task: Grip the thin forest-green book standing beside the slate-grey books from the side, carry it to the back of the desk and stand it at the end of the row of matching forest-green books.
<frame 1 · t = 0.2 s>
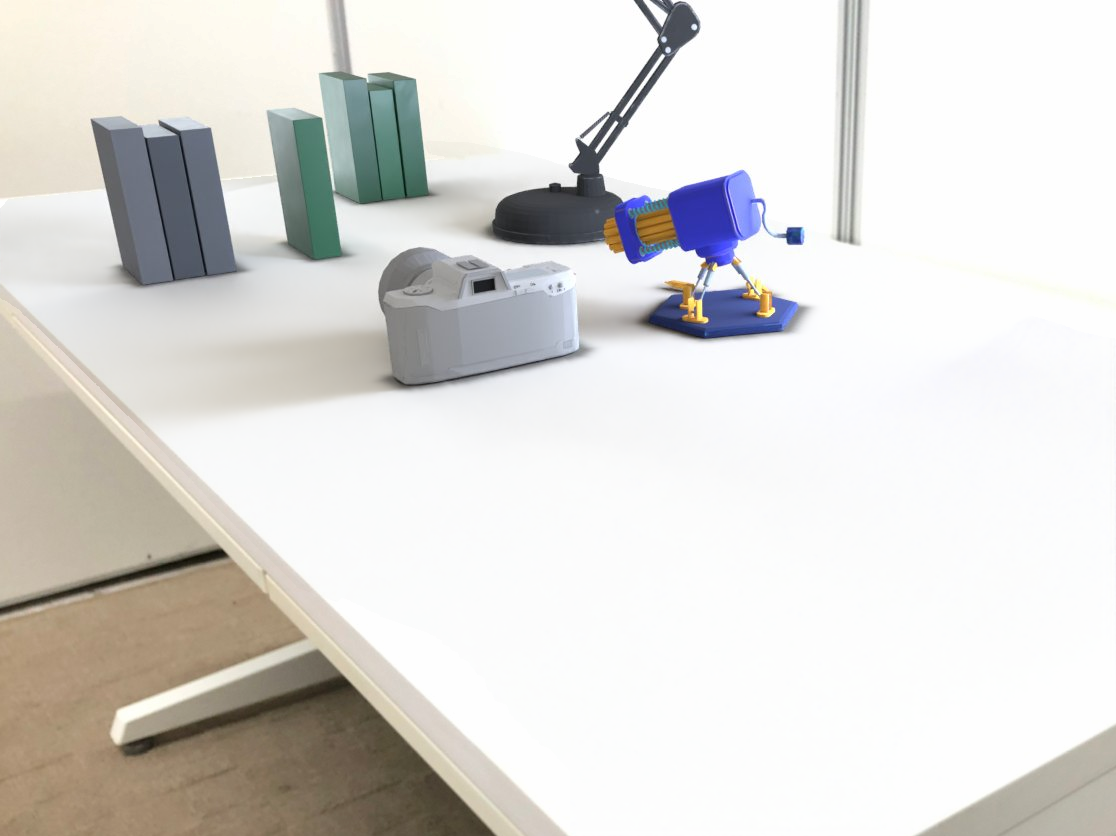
desk lamp: (554, 230, 149), on the table
green books: (381, 193, 167), on the table
green book: (314, 249, 140), on the table
grey books: (179, 268, 133), on the table
digital camera: (476, 352, 109), on the table
toy gatling gun: (715, 310, 119), on the table
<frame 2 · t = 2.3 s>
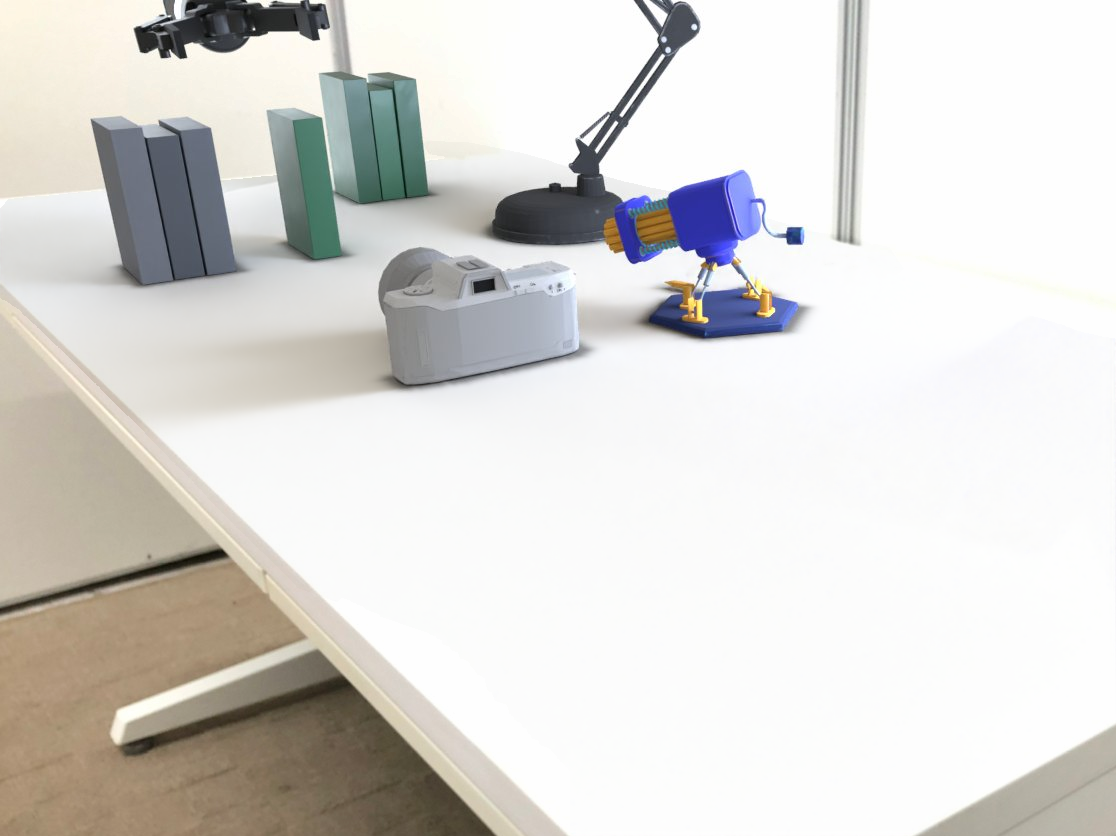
hand: (248, 35, 136), 21 cm above the table, tool horizontal, fingers open, 13 cm apart
nothing on the table moved.
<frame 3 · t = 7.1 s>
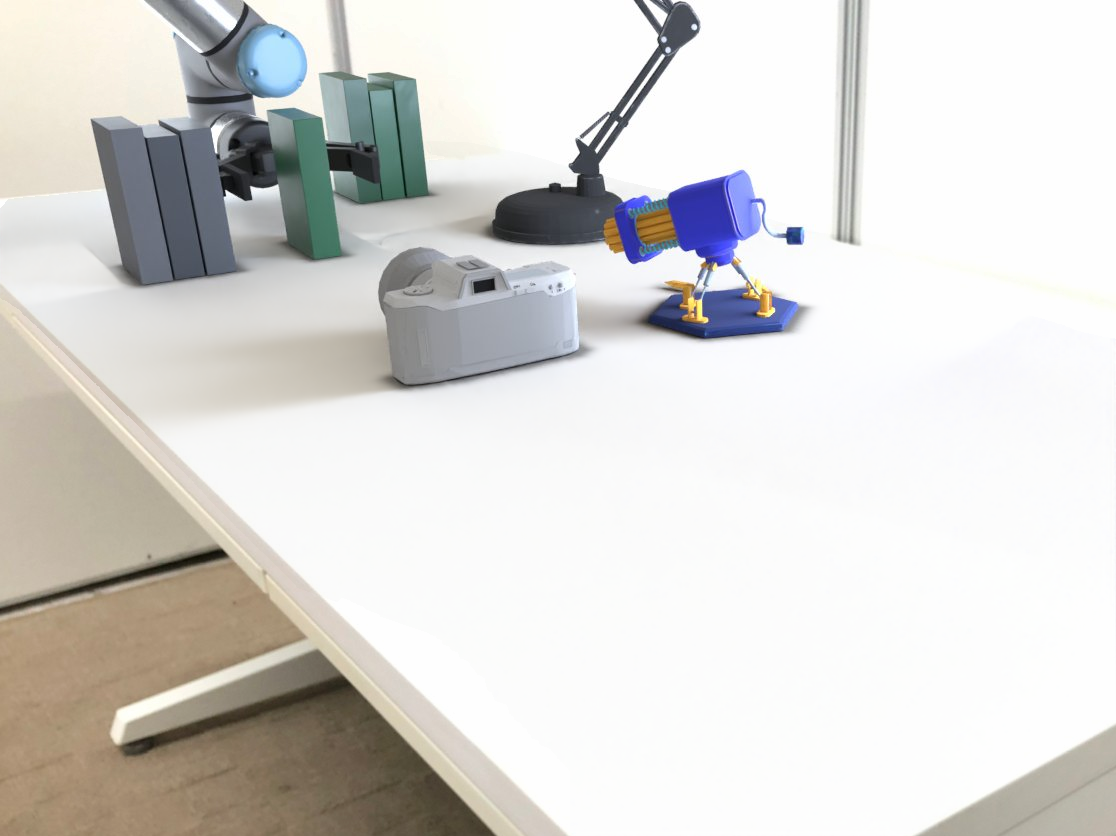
hand: (313, 178, 135), 8 cm above the table, tool horizontal, fingers open, 13 cm apart
nothing on the table moved.
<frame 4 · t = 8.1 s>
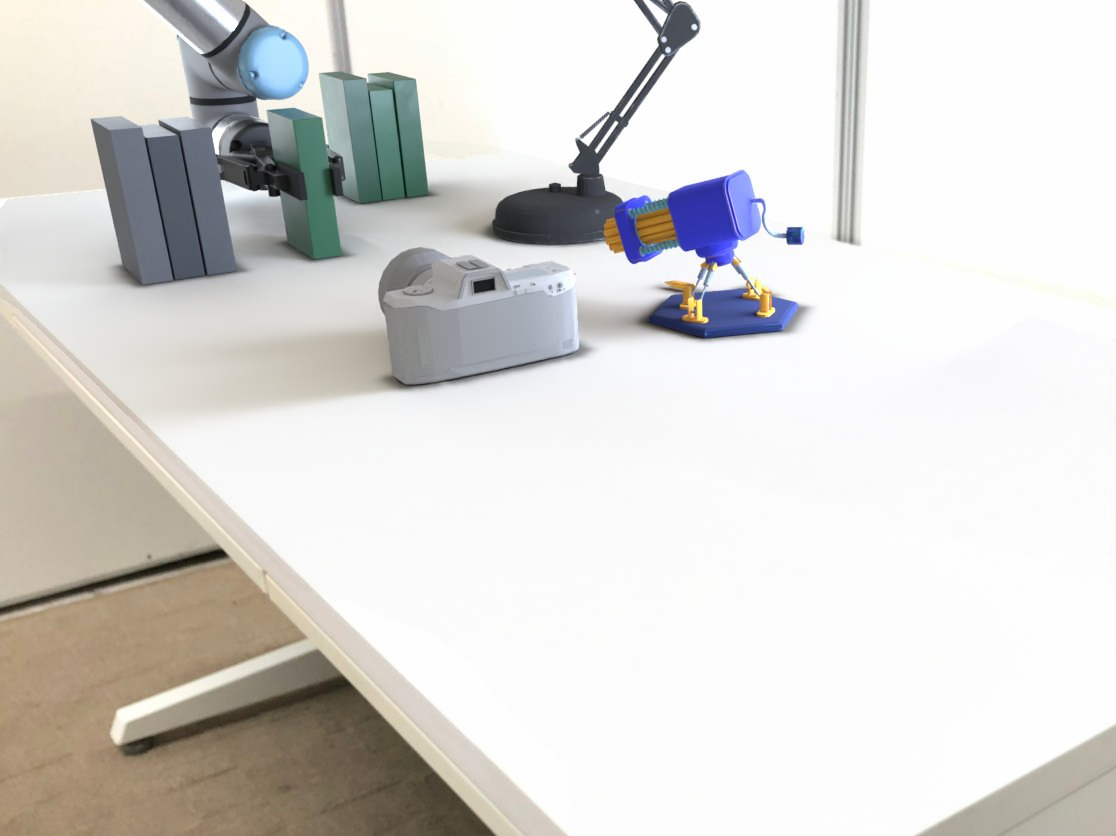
hand: (320, 184, 133), 8 cm above the table, tool horizontal, fingers closed on green book, 3 cm apart
green book: (314, 249, 140), on the table, touching gripper
everything else where it was.
when the fingers open (8 cm above the table, at t = 18.9 s): green book stays where it is, on the table.
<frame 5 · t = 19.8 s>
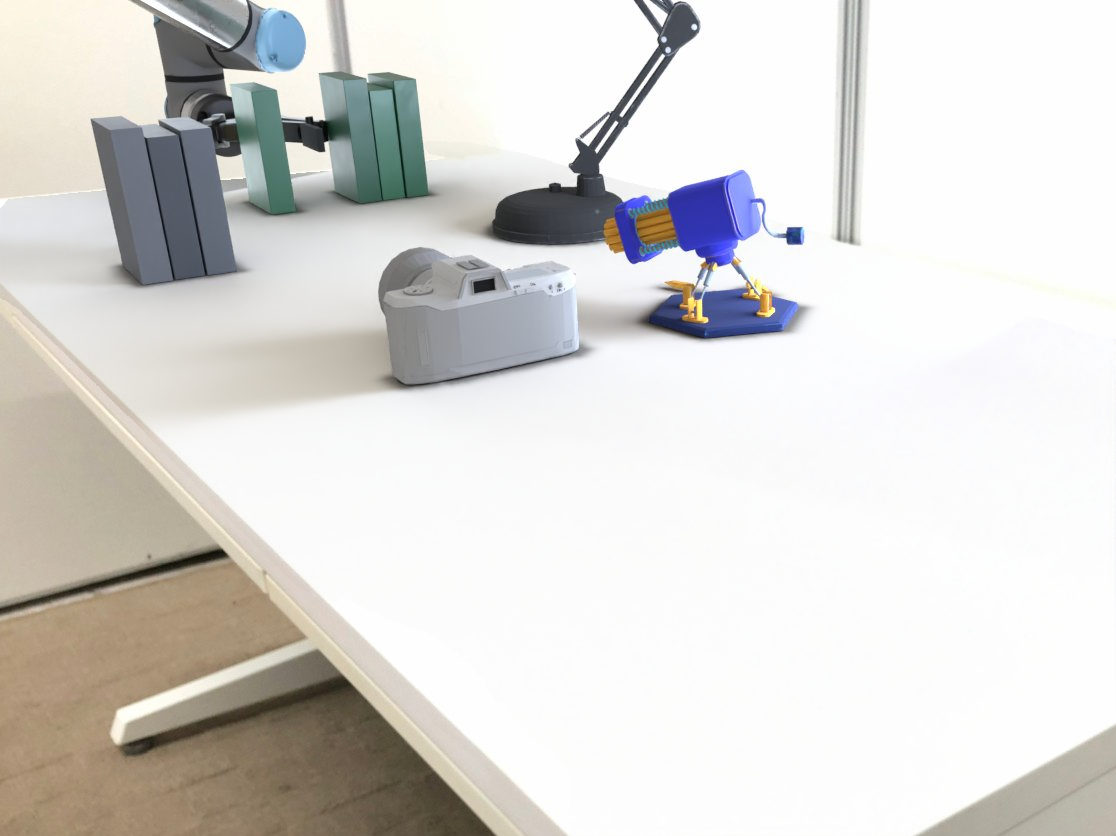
hand: (266, 145, 154), 8 cm above the table, tool horizontal, fingers open, 12 cm apart
green book: (272, 206, 160), on the table
everything else where it was.
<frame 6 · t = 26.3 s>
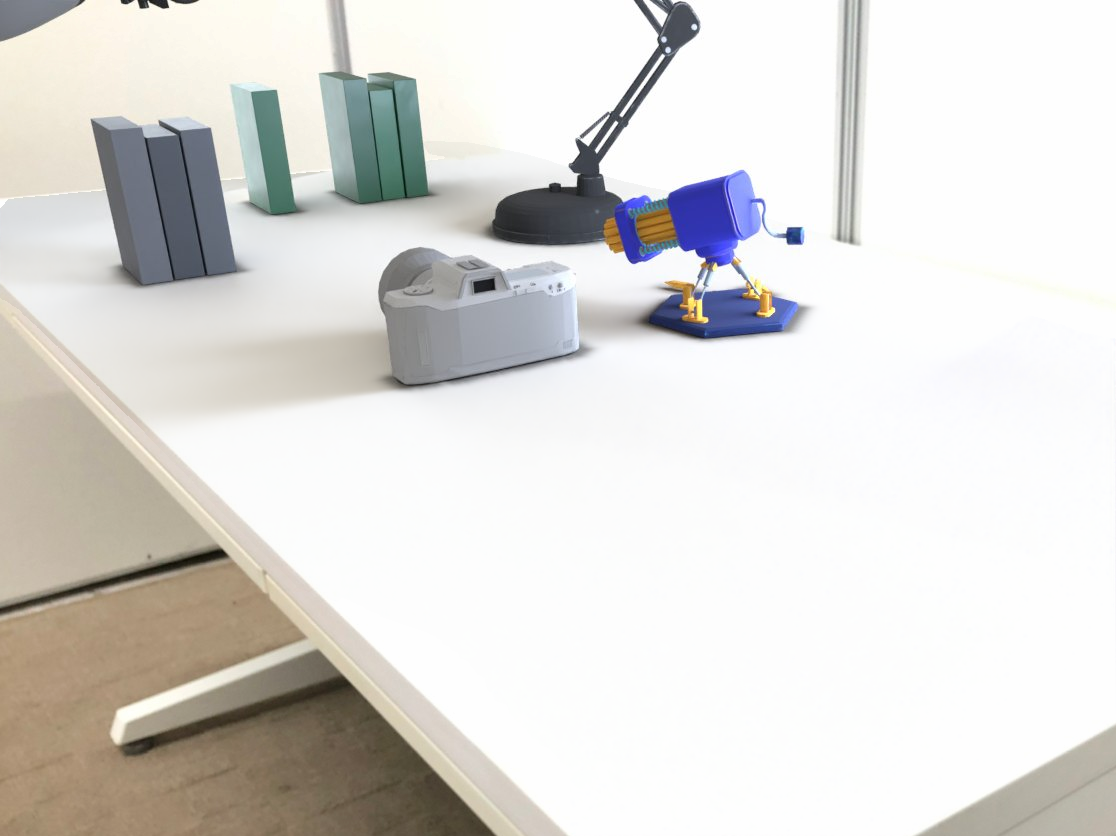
nothing on the table moved.
at the end: green book inside the target area on the table beside the green books (0.1 cm from its centre), on the table; green book tilted 0°; the gripper is holding nothing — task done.
